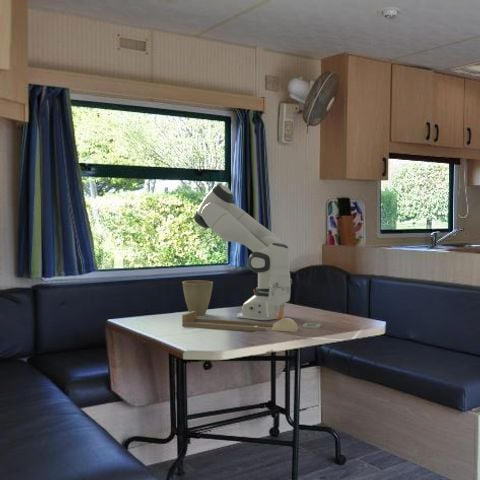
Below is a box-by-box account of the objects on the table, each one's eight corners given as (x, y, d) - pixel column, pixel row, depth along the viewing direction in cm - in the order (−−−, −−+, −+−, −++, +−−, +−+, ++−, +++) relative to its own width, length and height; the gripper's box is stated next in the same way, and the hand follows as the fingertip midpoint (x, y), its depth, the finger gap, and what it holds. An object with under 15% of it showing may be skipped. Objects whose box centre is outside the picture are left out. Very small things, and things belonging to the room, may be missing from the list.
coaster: (301, 329, 252) (301, 325, 252) (305, 326, 258) (305, 322, 258) (317, 330, 249) (317, 326, 249) (321, 327, 256) (321, 323, 256)
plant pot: (178, 316, 282) (178, 283, 282) (187, 311, 297) (187, 279, 296) (208, 317, 279) (208, 284, 278) (216, 312, 294) (216, 280, 293)
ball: (282, 319, 246) (282, 309, 246) (272, 318, 247) (272, 309, 247) (284, 317, 250) (284, 308, 249) (275, 317, 251) (275, 307, 251)
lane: (182, 337, 258) (182, 314, 258) (193, 332, 269) (192, 310, 268) (293, 346, 241) (293, 322, 241) (299, 341, 251) (300, 317, 251)
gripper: (279, 285, 237) (279, 319, 237) (293, 279, 256) (292, 311, 257) (264, 284, 239) (264, 318, 240) (279, 279, 258) (279, 310, 259)
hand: (279, 314), depth 248 cm, fingers open, 4 cm apart
